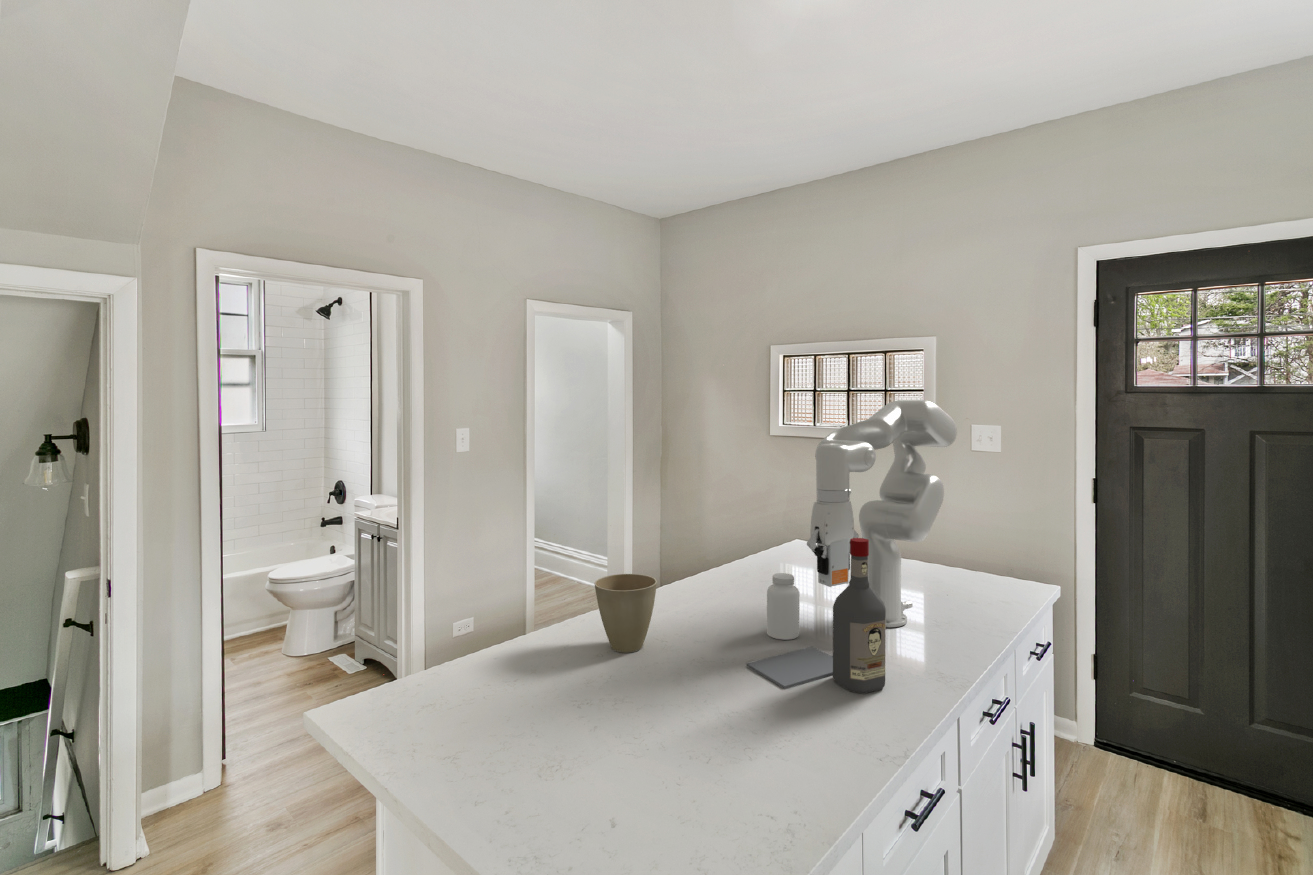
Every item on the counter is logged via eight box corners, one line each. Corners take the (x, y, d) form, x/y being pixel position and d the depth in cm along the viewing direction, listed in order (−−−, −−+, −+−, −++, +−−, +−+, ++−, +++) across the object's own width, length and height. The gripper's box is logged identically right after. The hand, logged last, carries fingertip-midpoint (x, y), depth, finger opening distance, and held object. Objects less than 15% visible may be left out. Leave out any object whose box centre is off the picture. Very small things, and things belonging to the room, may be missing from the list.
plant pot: (670, 645, 154) (669, 580, 153) (626, 664, 143) (625, 594, 142) (627, 630, 164) (626, 569, 163) (582, 647, 153) (581, 582, 152)
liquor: (826, 678, 135) (826, 537, 133) (861, 670, 138) (861, 533, 136) (856, 696, 126) (856, 546, 124) (892, 687, 130) (893, 541, 128)
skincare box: (830, 587, 149) (829, 537, 148) (817, 583, 153) (817, 533, 152) (849, 583, 152) (849, 533, 151) (837, 578, 156) (836, 530, 155)
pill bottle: (799, 641, 155) (799, 580, 154) (766, 639, 157) (766, 579, 156) (799, 629, 163) (799, 571, 162) (767, 628, 164) (766, 570, 163)
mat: (812, 648, 150) (812, 646, 150) (853, 668, 139) (853, 666, 139) (746, 665, 142) (746, 663, 141) (784, 688, 130) (784, 686, 130)
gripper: (848, 490, 158) (848, 562, 159) (793, 497, 150) (794, 573, 151) (871, 494, 152) (871, 569, 153) (816, 502, 143) (816, 581, 145)
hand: (833, 570), depth 152 cm, fingers closed on skincare box, 6 cm apart
